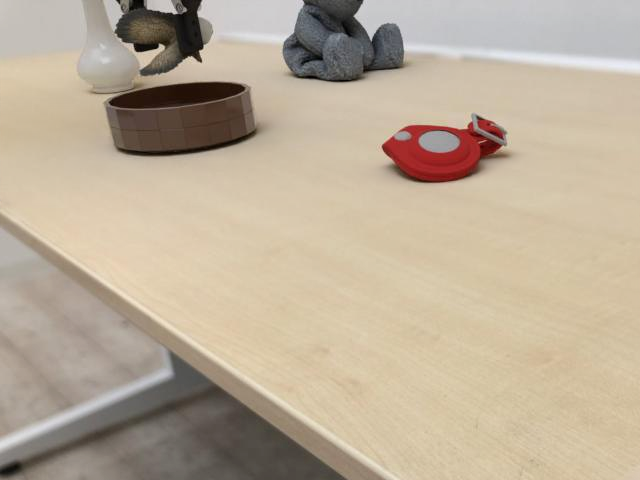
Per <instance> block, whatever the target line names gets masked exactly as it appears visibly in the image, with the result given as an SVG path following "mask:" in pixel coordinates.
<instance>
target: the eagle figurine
mask: <svg viewBox="0 0 640 480" xmlns="http://www.w3.org/2000/svg"><path fill="white" fill-rule="evenodd" d="M172 14H174V13H173V12H169V11H168V12H165V11H160V10H154V9H149V8H148V7H147V8H138V10H137V9H134V10H131V11H130V12H127V13H126V14H123V13H122V15H121V17H120V18H119V19H118V21H117V23H116V24H115V27H116V28H115V29H114V30H113V31H114V33H115V35H116V36H117V38H118V39H121V43H125V44H131V45H133V44H137V43H139V44H159V45H162V46H164V49H163V50H162V51H160V52H159V53H158V54H156V55H155V56H154V58H153V59H152V60H151V61H150V62H149V63H148V64H147V65H146V66H144V67H142V68H140V71H139V74H138V75H140V77H149V76H150V77H151V76H152V77H153V76H156V75H158V76H159V75H161V74H167V73H169V72H171V71H173V70H174V69H176V68H177V67H179V64H181V63H183V61H185V60H186V59H188V58H191V57H192V58H193V59H195V60H196V62H198V63H200V64H203V59H202V56H201V54H200V50H199V51H195V52H191V53H181V52H180V51H179V47H178V42H177V37H176V32H175V27H174V22H173V15H172ZM198 18H199V24H200V29H201V34H202V40H203V45H204V46H205V45H207V44H209V42H210V41H211V39H212V36H213V35H214V30H213V24H212V23H211V21H209V20H207V18H203V17H199V16H198Z"/></svg>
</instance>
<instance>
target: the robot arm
mask: <svg viewBox="0 0 640 480" xmlns="http://www.w3.org/2000/svg"><path fill="white" fill-rule="evenodd" d="M170 1H171V4H172V6H173V8H174V10H175V12H176V13H173V14H172V15H173V22H174V27H175V32H176V37H177V42H178V47H179V51H180V52H181V53H191V52H195V51H199V52H200V51H203V50H204V48H205V45H203V40H202V34H201V29H200V24H199V18H198V17H199V14H198V12H200V11H201V10H202V2H203V0H170ZM115 2H116V3H117V4H118V5H119V9H120V11H121V13H122V15H123V14H126V13H127V12H130V11H131V10H134V9H137V10H138V8H147V9H148V0H115ZM132 46H133V50H134V52H136V53H144V52H149V51H154V50H158V49H159V48H160V44H139V43H137V44H132Z"/></svg>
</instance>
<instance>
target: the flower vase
mask: <svg viewBox="0 0 640 480" xmlns="http://www.w3.org/2000/svg"><path fill="white" fill-rule="evenodd" d="M81 3H82V7H83V12H84V17H85V23H86V24H85V25H86V41H85V46H84V49H83V50H82V52H81V53H80V55H79V56H78V60H77V62H76V72H77V75H78V77H79V78H80V79H81V80H82V81H84V83H86V84H88V85H90V86H92V91H93V92H94V93H95V94H112V93H113V94H114V93H120V92H121V93H122V92H125V91H126V92H127V91H129V90H132V89H133V88H134V87H135V84H134V81H135V79H136V78H137V77H138V76H139V75H140V74H139V73H140V72H139V71H140V70H141V63H140V62H139V61H140V60H139V59H138V57H137V55H135V53H134V52H133V51H132V50H130V49H129V48H128V47H126V46H125V45H124V44H123V42H122V41H120V38H118V37H117V34H115V33H114V31H115V30H114V29H113V27H112V25H111V22H110V20H109V15H108V13H107V9H106V5H105V2H104V0H81Z"/></svg>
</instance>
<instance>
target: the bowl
mask: <svg viewBox="0 0 640 480" xmlns="http://www.w3.org/2000/svg"><path fill="white" fill-rule="evenodd" d="M102 105H103V109H104V112H105V117H106V121H107V125H108V129H109V134H110V138H111V141H112V143H113V144H114V146H115V147H117V148H119V149H123V150H127V151H137V152H142V153H150V152H168V153H178V152H177V151H182V152H187V151H186V150H191V151H196V150H195V149H198V150H202V148H203V149H208V147H209V148H213V147H217V146H221V145H224V143H225V144H227V142H228V143H230V142H229V141H231V142H233V141H235V140H238V139H239V138H242V137H244V136H247V135H249V134H250V133H252V132H254V131H255V130H256V129H257V125H258V122H257V117H256V110H255V105H254V98H253V91H252V86H250V85H248V84H247V83H242V82H237V81H222V80H213V81H212V80H208V81H206V80H205V81H191V82H179V83H169V84H163V85H162V84H161V85H155V86H150V87H143V88H138V89H135V90H130V91H129V90H128V91H126V92H125V91H124V92H121V93H119V94H115V95H113V96H111V97H108V98H107V99H105V100H104V101H103V102H102ZM234 139H235V140H234ZM232 140H233V141H232ZM220 144H221V145H220ZM175 151H176V152H175Z"/></svg>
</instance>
